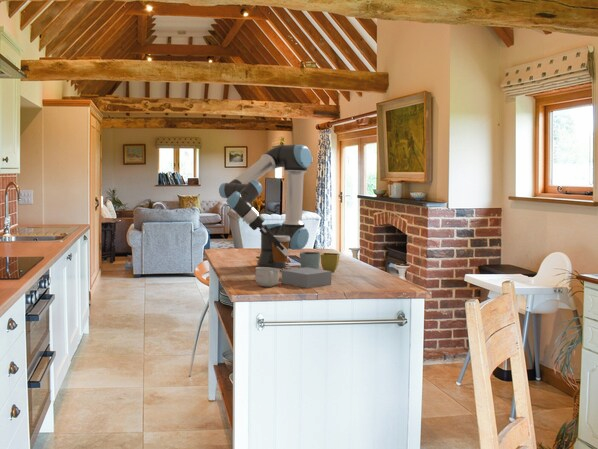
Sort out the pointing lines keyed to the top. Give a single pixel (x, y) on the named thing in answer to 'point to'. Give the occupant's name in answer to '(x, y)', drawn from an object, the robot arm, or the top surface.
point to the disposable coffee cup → (277, 254)
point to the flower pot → (329, 261)
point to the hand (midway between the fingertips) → (287, 252)
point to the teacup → (267, 276)
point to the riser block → (306, 277)
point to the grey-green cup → (310, 259)
